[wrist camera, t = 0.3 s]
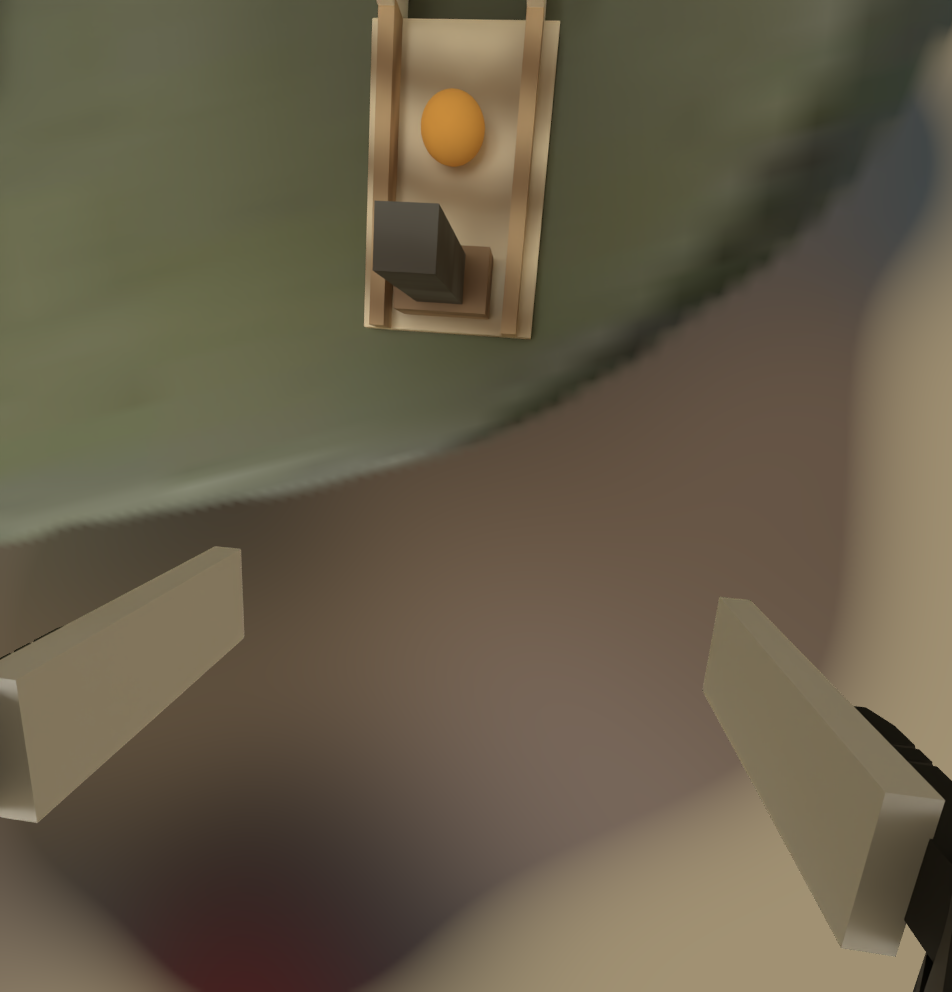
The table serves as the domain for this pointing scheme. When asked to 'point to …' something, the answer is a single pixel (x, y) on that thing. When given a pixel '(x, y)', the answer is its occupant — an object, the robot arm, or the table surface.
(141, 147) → the table surface
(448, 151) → the ball
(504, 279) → the tray
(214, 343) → the table surface
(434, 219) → the sled
